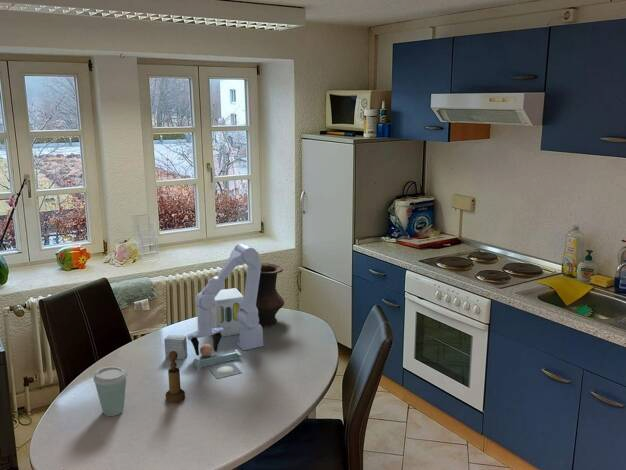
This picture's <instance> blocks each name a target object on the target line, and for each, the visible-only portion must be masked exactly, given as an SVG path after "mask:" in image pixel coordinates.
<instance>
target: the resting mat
mask: <svg viewBox="0 0 626 470" xmlns="http://www.w3.org/2000/svg"><path fill="white" fill-rule="evenodd" d="M208 369H209V371H210V372H211V373H212V374H213V376H214V377H215V378H216V379H217V380H218V379H222V378H226V377H231V376H235V375H238V374H239V375H240V374H242V373H243V372H242V371H241V369H240V368H238V367H237V365H236V364H235V363H234V362H228V363H224V364H218V365H214V366H211V367H208Z"/></svg>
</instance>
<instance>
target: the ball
mask: <svg viewBox="0 0 626 470" xmlns="http://www.w3.org/2000/svg"><path fill="white" fill-rule="evenodd" d="M212 353H213V346H212V345H211V344H209V343H204V344H203V345H201V346H200V347H199V354H201V355H202V356H203V357H209V356H211V355H212Z"/></svg>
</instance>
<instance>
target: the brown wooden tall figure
mask: <svg viewBox="0 0 626 470" xmlns="http://www.w3.org/2000/svg"><path fill="white" fill-rule="evenodd" d="M177 356H178V355H177V353H176V352H175V351H171V352H170V353H169V358H168V360H170V363H169V366H170V368H169V369H168V370H167V374H168V390H167V391H166V392H165V401H166V402H167V404H172V405H174V404H175V405H176V404H180V403H182V402H183V401H185V399H186V392H185V390H184V389H182V388H181V370H180V368H179V367H177V365H178V364H177V362H176V360H178V359H177Z"/></svg>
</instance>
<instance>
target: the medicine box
mask: <svg viewBox="0 0 626 470" xmlns="http://www.w3.org/2000/svg"><path fill="white" fill-rule="evenodd" d="M163 340H164V352H165V353H164V354H165V359H169V353H170V352H171V351H175V352H176V353H177V355H178V356H177V359H176V360H185V359H186V357H187V355H188V342H187V341H188V340H187V335H179V334H177V335H176V334H168V335H166V337H165V338H164V339H163Z"/></svg>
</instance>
